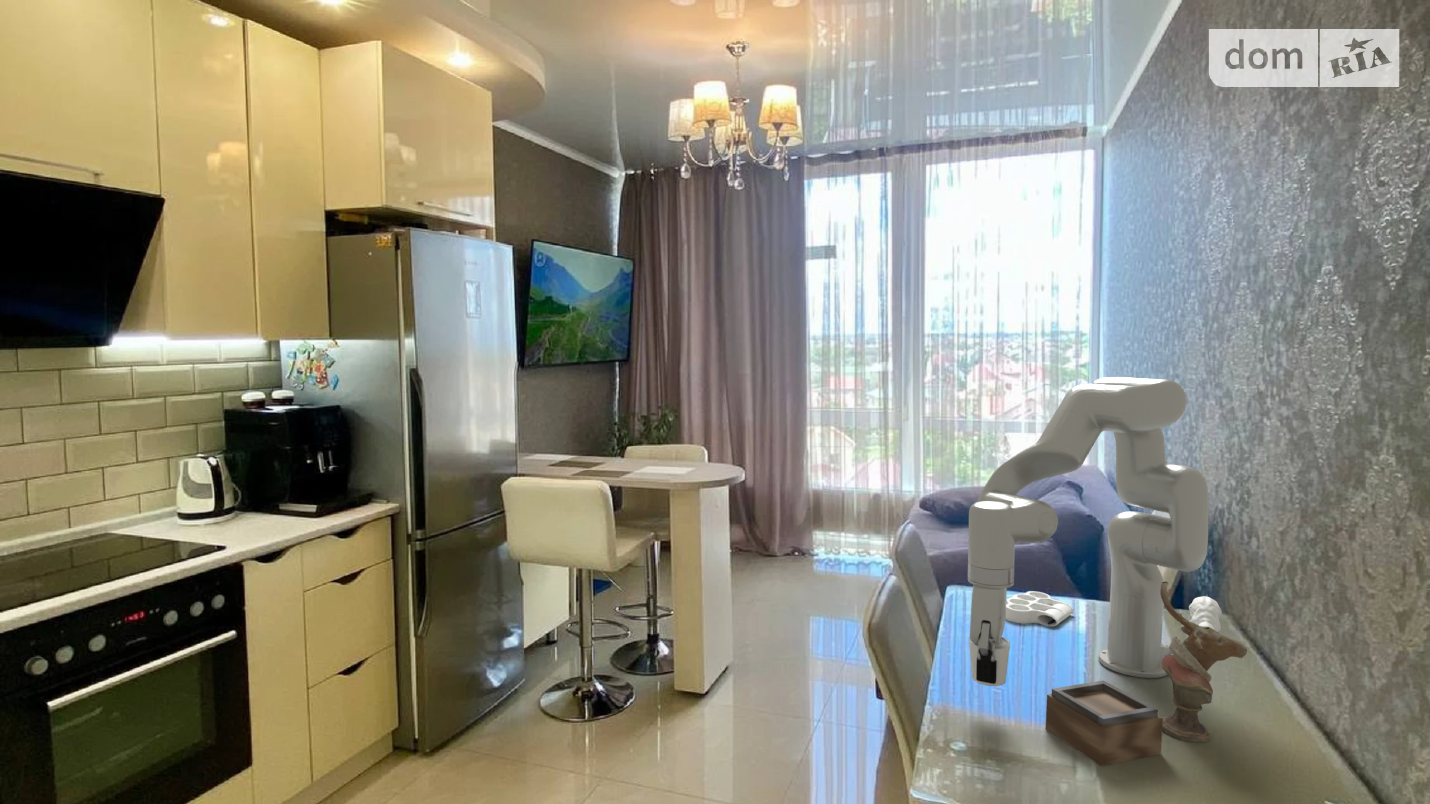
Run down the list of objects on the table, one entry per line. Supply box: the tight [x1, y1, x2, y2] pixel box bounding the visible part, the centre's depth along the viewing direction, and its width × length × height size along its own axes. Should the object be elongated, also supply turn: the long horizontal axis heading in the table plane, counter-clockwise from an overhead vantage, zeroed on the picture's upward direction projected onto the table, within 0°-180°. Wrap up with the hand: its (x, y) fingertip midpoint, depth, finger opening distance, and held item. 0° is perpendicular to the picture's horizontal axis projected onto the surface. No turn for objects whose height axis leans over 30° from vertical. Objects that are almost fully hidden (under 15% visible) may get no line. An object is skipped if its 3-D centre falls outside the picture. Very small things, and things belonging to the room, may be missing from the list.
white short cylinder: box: [968, 636, 1011, 687], centre depth 134 cm, size 7×7×7 cm
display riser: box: [1045, 680, 1164, 767], centre depth 126 cm, size 12×12×7 cm
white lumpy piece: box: [1188, 595, 1223, 633], centre depth 171 cm, size 6×8×12 cm
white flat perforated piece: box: [1005, 590, 1075, 627], centre depth 186 cm, size 3×18×15 cm
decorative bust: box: [1160, 581, 1248, 743], centre depth 129 cm, size 11×13×25 cm
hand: (988, 672), depth 134 cm, fingers closed on white short cylinder, 6 cm apart
